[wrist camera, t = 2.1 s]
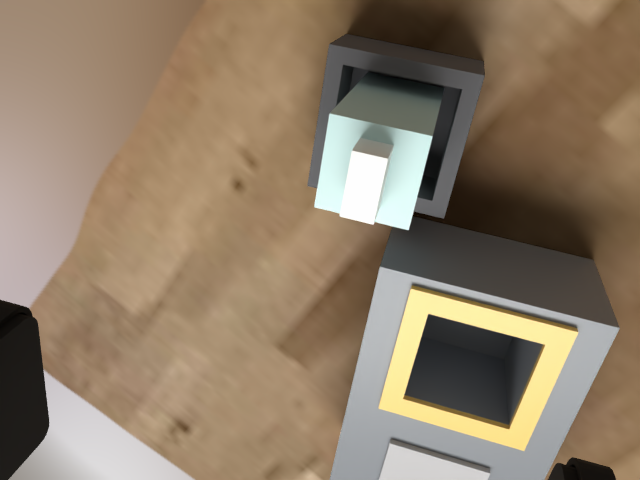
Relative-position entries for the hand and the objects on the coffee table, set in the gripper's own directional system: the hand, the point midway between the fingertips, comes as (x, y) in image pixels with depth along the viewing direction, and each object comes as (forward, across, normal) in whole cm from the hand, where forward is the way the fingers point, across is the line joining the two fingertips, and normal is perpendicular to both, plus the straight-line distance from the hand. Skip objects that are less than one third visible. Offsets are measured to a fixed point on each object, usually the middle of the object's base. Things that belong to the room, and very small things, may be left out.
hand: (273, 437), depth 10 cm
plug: (+20, 0, -1) cm, 20 cm away
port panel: (+21, -6, +12) cm, 25 cm away
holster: (+21, 0, -1) cm, 21 cm away
